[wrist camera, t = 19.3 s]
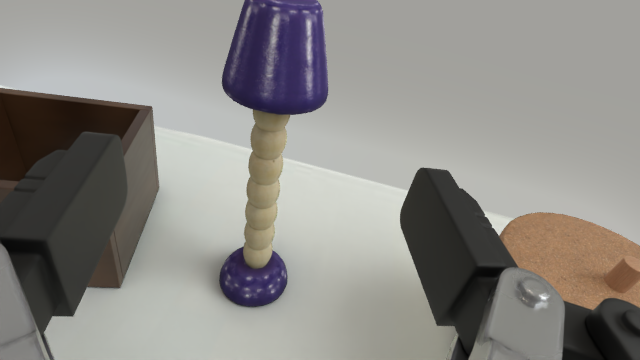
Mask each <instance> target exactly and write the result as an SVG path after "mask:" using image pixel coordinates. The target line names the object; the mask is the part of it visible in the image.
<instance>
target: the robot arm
mask: <svg viewBox="0 0 640 360" xmlns="http://www.w3.org/2000/svg"><path fill="white" fill-rule="evenodd" d="M127 196H128V181H127V175H126V168H125V161H124V155H123V148H122V142H121V139H120V137H119V136H118V135H112V134H102V133H93V132H83V133H81V134H80V136H79V137H78V138H77V139H76V141H75V142H74V143H73V144H72V146H71V147H70V148H69V149H68V150H56V151H54V152H52V153H51V154H49V155H47V156H45V157H44V158H42V159H40V160H38V161H37V162H36V163H35V164H34V165H33V167H32V168H31V169H30V170H29V171H28V172H27V173H26V175H25V178H24V179H21V180H20V181H19V183H18V184H17V185H16V186H15V187H14V191H11V192H10V193H9V194H8V195H7V196H6V197H5V199H4V200H3V201H2V202H1V203H0V360H55V359H54V357H53V354H52V352H51V349H50V346H49V344H48V341H47V339H46V336H45V334H44V331H45V329H46V327H47V325H48V323H49V321H50V320H51V318H52V316H73V315H74V313H75V311H76V309H77V307H78V305H79V303H80V301H81V298H82V296H83V294H84V292H85V290H86V288H87V286H88V284H89V282H90V279H91V277H92V275H93V273H94V271H95V269H96V267H97V265H98V263H99V260H100V258H101V256H102V254H103V252H104V250H105V248H106V246H107V244H108V241H109V239H110V237H111V235H112V233H113V231H114V229H115V227H116V225H117V222H118V220H119V218H120V216H121V214H122V212H123V210H124V207H125V205H126V201H127ZM400 224H401V229H402V231H403V234H404V237H405V240H406V242H407V245H408V248H409V251H410V253H411V256H412V259H413V261H414V264H415V267H416V270H417V272H418V275H419V278H420V280H421V283H422V286H423V289H424V291H425V294H426V297H427V299H428V302H429V305H430V308H431V310H432V313H433V316H434V319H435V321H436V324H437V326H455V328H456V331H457V333H458V334H457V335H456V336H455V338H454V339H453V341H452V344H451V347H450V350H449V353H448V356H447V358H446V360H640V308H639V307H637V306H636V305H634V304H632V303H630V302H627V301H625V300H621V299H617V298H607V299H604V300H603V301H602V302H601V303H600V304H599V305H598V306H597V307H596V308H595V309H593V310H591V309H588V308H585V307H582V306H579V305H576V304H573V303H570V302H567V301H563V300H562V298H561V296H560V294H559V293H558V292H557V290H556V289H555V288H554V287H553V286H552V285H551V284H550V283H549V282H548V281H546V280H545V279H544V278H542V277H541V276H539V275H538V274H536V273H534V272H532V271H529V270H526V269H523V268H519V267H518V265H517V264H516V262H515V261H514V259H513V258H512V256H511V254H510V253H509V251H508V250H507V248H506V247H505V245H504V244H503V242H502V240H501V239H500V237H499V236H498V234H497V233H496V231H495V229H494V228H492V225H491V223H490V222H489V220H488V218H487V217H485V214H484V212H483V211H482V209H481V208H480V206H479V204H478V203H477V201H476V200H474V199H473V198H472V197H471V196H470V195H469V194H468V193H466V191H464V190H463V189H460V188H459V187H458V185H457V184H456V182H455V180H454V179H453V177H452V176H451V174H450V173H449V171H447V170H441V169H431V168H420V169H419V170H418V171H417V173H416V175H415V177H414V180H413V182H412V184H411V187H410V189H409V192H408V194H407V196H406V199H405V201H404V203H403V206H402V209H401V213H400Z"/></svg>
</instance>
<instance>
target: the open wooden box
mask: <svg viewBox="0 0 640 360" xmlns="http://www.w3.org/2000/svg"><path fill="white" fill-rule="evenodd" d="M83 132H93V133H102V134H112V135H118V136H119V137H120V139H121V142H122V148H123V155H124V161H125V168H126V175H127V181H128V196H127V201H126V205H125V207H124V210H123V212H122V214H121V216H120V218H119V220H118V222H117V225H116V227H115V229H114V231H113V233H112V235H111V237H110V239H109V241H108V244H107V246H106V248H105V250H104V252H103V254H102V256H101V258H100V260H99V263H98V265H97V267H96V269H95V271H94V273H93V275H92V277H91V279H90V282H89V284H88V286H87V287H112V288H120V286H121V284H122V281H123V279H124V276H125V274H126V271H127V269H128V266H129V264H130V261H131V259H132V256H133V254H134V251H135V248H136V246H137V243H138V241H139V238H140V236H141V233H142V231H143V228H144V226H145V223H146V220H147V218H148V215H149V213H150V210H151V208H152V205H153V203H154V200H155V198H156V195H157V192H158V190H159V180H158V168H157V157H156V145H155V134H154V122H153V110H152V107H151V106H144V105H135V104H127V103H119V102H111V101H103V100H94V99H86V98H78V97H70V96H62V95H53V94H45V93H36V92H28V91H21V90H12V89H4V88H0V203H1V202H2V201H3V200H4V199H5V197H6V196H7V195H8V194H9V193H10V192H11V191H14V187H15V186H16V185H17V184H18V183H19V181H20V180H21V179H24V178H25V175H26V173H27V172H28V171H29V170H30V169H31V168H32V167H33V165H34V164H35V163H36V162H37V161H38V160H40V159H42V158H44V157H45V156H47V155H49V154H51V153H52V152H54V151H56V150H68V149H69V148H70V147H71V146H72V144H73V143H74V142H75V141H76V139H77V138H78V137H79V136H80V134H81V133H83Z"/></svg>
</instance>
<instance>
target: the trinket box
mask: <svg viewBox="0 0 640 360" xmlns="http://www.w3.org/2000/svg"><path fill="white" fill-rule="evenodd" d="M499 237H500V239H501V240H502V242H503V244H504V245H505V247H506V248H507V250H508V251H509V253H510V254H511V256H512V258H513V259H514V261H515V262H516V264H517V265H518V267H519V268H523V269H526V270H529V271H532V272H534V273H536V274H538V275H539V276H541V277H542V278H544V279H545V280H546V281H548V282H549V283H550V284H551V285H552V286H553V287H554V288H555V289H556V290H557V292H558V293H559V294H560V296H561V298H562V300H563V301H567V302H570V303H573V304H576V305H579V306H582V307H585V308H588V309H591V310H593V309H595V308H596V307H597V306H598V305H599V304H600V303H601V302H602V301H603V300H604V299H607V298H617V299H621V300H625V301H627V302H630V303H632V304H634V305H636V306H637V307H639V308H640V246H639V245H637V244H635V243H634V242H632V241H630V240H628V239H626V238H625V237H623V236H621V235H619V234H617V233H615V232H612V231H610V230H608V229H606V228H604V227H601V226H598V225H596V224H594V223H591V222H588V221H585V220H582V219H579V218H575V217H571V216H567V215H563V214H555V213H541V212H540V213H533V214H532V213H531V214H526V215H523V216H520V217H517V218H515V219H514V220H512V221H511V222H510V223H509V224H508V225H507V226H506V227H505V228H504V230H503V231H502V233H501V234H500V236H499Z"/></svg>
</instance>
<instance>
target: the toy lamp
mask: <svg viewBox="0 0 640 360" xmlns="http://www.w3.org/2000/svg"><path fill="white" fill-rule="evenodd" d="M222 86H223V89H224V91H225V93H226V94H227V95H228V96H229V97H230V98H232V99H233V101H235V102H237V103H239V104H240V105H243V106H245V107H248V108H250V109H253V116H254V120H255V122H256V123H255V125H254V127H253V129H252V132H251V147H252V149H253V152H252V153H251V156H250V159H249V167H248V168H249V173H250V178H249V180H248V183H247V197H248V202H247V205H246V210H245V216H246V219H247V223H246V226H245V231H244V236H245V240H246V242H245V245H244V247H242V248H239V249H237V250H236V251H235V252H233V253H232V254H231V255H230V256H229V257H228V258H227V259H226V261H225V262H224V264H223V266H222V269H221V272H220V280H219V281H220V286H221V288H222V290H223V292H224V294H225V295H226V296H227V297H228V298H229V299H230V300H232V301H233V302H235V303H237V304H240V305H244V306H262V305H265V304H268V303H271V302H272V301H274V300H276V299H277V298H278V297H279V296H280V295H281V294H282V293H283V291H284V288H285V287H286V284H287V271H286V267H285V264H284V262H283V260H282V259H281V258H280V256H279V255H278V254H277V253H276V252H274V251H273V250H272V243H271V242H272V240H273V238H274V233H275V227H274V221H275V219H276V216H277V203H276V200H277V199H278V196H279V192H280V183H279V179H278V178H279V177H280V175H281V172H282V168H283V158H282V155H281V153H282V152H283V150H284V148H285V145H286V140H287V133H286V129H285V126H286V124H287V123H288V120H289V118H290V115H295V114H302V113H308V112H312V111H314V110H316V109H318V108H320V107H321V106H322V105H323V104H324V103H325V101H326V99H327V95H328V77H327V60H326V45H325V31H324V20H323V11H322V8H321V5H320V4H319V3H318V1H317V0H245V2H244V5H243V7H242V11H241V14H240V17H239V20H238V24H237V27H236V30H235V33H234V37H233V40H232V43H231V47H230V50H229V54H228V57H227V61H226V64H225V67H224V71H223V76H222Z"/></svg>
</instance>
